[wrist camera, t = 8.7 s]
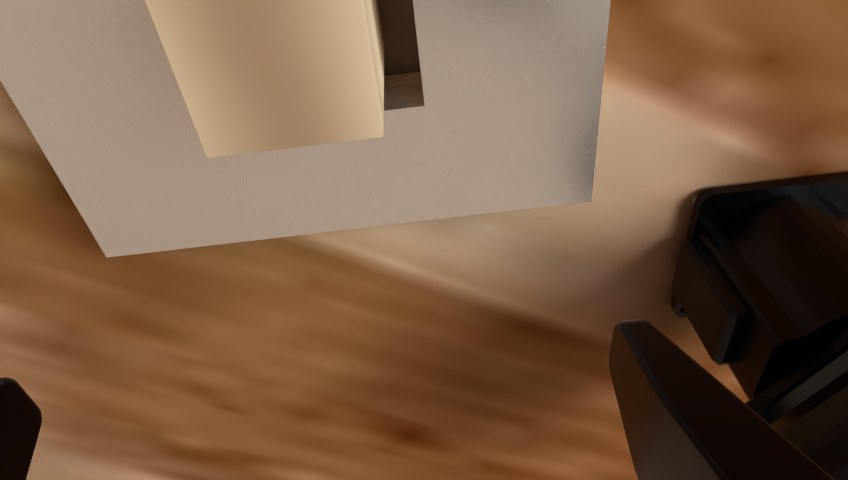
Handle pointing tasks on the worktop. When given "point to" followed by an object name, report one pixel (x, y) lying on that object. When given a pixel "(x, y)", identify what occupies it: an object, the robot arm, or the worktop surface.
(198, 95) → the peg
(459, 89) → the plate
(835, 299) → the robot arm
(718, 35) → the worktop surface
